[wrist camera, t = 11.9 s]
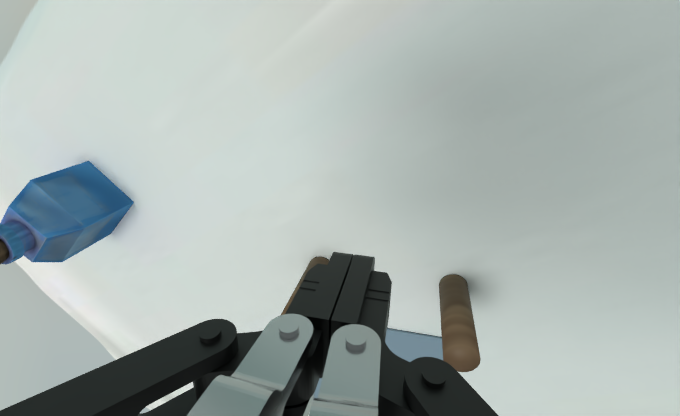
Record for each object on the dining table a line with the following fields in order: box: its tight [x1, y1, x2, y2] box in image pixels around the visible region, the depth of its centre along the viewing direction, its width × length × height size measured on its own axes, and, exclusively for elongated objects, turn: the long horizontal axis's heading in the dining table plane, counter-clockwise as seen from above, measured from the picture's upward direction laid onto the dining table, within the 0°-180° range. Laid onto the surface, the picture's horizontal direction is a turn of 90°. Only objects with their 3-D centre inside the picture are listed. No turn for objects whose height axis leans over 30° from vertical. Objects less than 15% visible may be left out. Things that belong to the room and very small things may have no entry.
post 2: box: [439, 275, 480, 372], centre depth 30 cm, size 3×3×9 cm
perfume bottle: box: [0, 161, 134, 264], centre depth 34 cm, size 6×6×12 cm
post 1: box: [281, 257, 329, 315], centre depth 33 cm, size 3×3×9 cm
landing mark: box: [315, 328, 444, 398], centre depth 41 cm, size 15×15×1 cm
